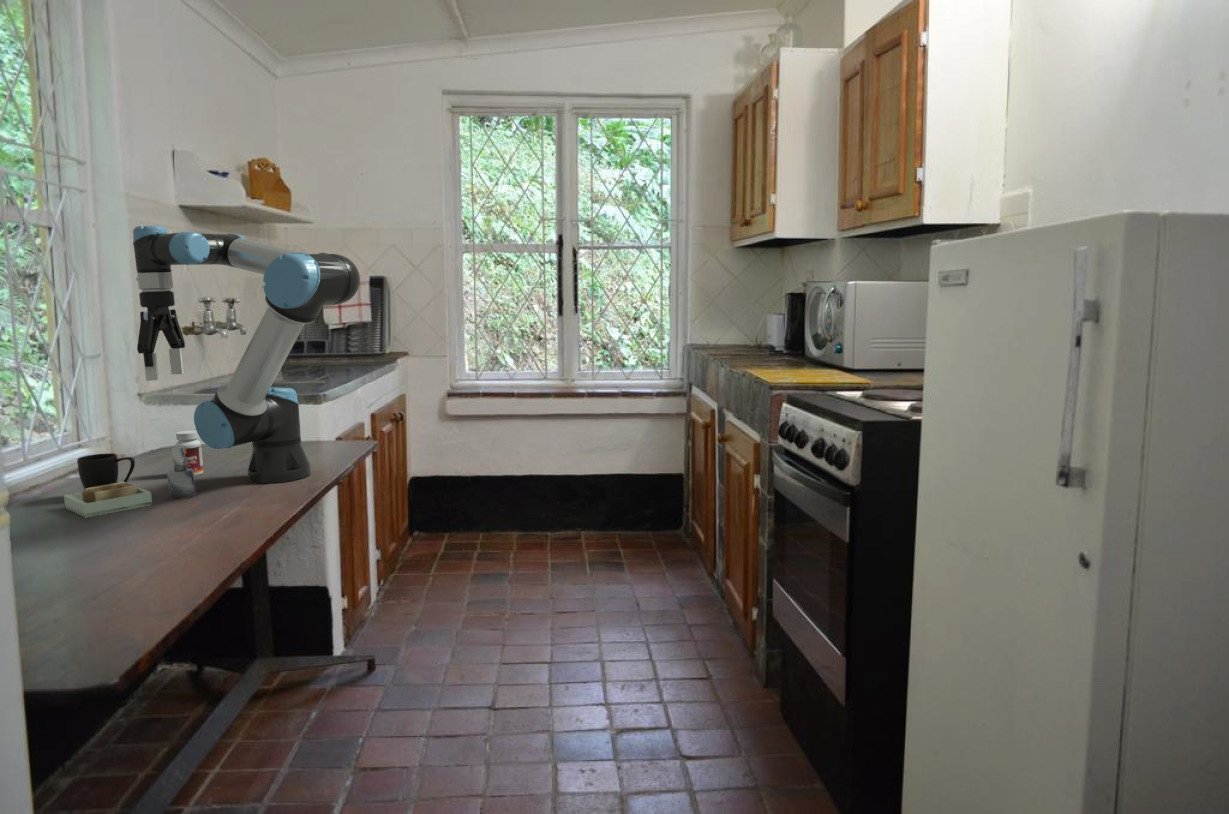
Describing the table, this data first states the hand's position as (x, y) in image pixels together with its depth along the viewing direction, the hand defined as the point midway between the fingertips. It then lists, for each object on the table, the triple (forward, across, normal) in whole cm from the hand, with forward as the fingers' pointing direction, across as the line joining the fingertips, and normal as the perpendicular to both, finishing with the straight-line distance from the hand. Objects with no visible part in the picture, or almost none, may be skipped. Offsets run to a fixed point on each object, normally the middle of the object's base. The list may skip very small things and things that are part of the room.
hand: (165, 377), depth 219 cm
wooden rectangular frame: (+26, +22, -4) cm, 34 cm away
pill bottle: (+27, -10, 0) cm, 29 cm away
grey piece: (+27, +15, +8) cm, 32 cm away
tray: (+27, +23, -5) cm, 35 cm away
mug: (+27, +11, -11) cm, 31 cm away
